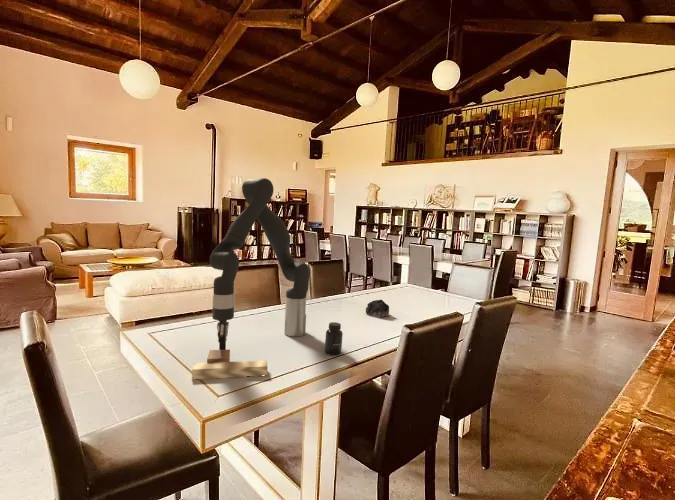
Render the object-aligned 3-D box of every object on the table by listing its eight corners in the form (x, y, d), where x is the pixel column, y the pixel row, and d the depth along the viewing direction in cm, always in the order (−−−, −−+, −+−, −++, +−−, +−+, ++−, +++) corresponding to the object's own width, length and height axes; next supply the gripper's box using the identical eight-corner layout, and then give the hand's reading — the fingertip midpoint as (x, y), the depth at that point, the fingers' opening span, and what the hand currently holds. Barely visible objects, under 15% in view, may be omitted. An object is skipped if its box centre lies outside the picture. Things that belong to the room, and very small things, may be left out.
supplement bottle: (335, 357, 143) (337, 327, 142) (321, 353, 147) (322, 324, 146) (344, 352, 149) (346, 323, 148) (330, 348, 153) (332, 320, 152)
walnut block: (229, 362, 134) (230, 349, 133) (228, 372, 126) (228, 358, 125) (209, 363, 132) (209, 350, 132) (206, 373, 124) (207, 358, 124)
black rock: (367, 311, 217) (367, 295, 215) (390, 312, 213) (390, 295, 212) (364, 319, 204) (363, 302, 202) (388, 320, 201) (387, 302, 199)
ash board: (266, 369, 129) (266, 360, 129) (267, 376, 124) (267, 366, 124) (194, 373, 123) (194, 363, 123) (191, 379, 119) (192, 369, 118)
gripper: (233, 310, 127) (232, 358, 129) (234, 300, 140) (233, 344, 142) (210, 310, 126) (209, 359, 127) (214, 300, 138) (213, 345, 140)
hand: (222, 351), depth 135 cm, fingers closed
